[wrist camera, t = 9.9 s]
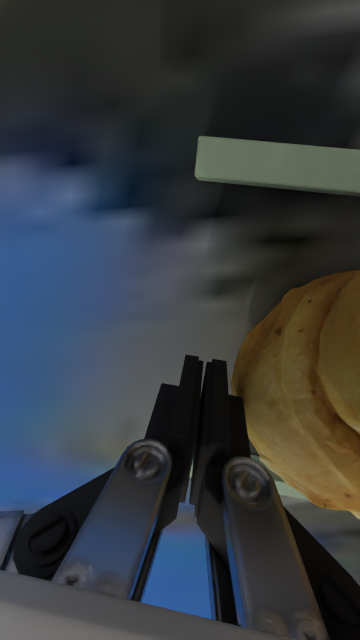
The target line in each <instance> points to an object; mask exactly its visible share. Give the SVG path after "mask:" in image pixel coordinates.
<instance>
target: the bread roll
mask: <svg viewBox="0 0 360 640" xmlns="http://www.w3.org/2000/svg"><path fill="white" fill-rule="evenodd" d="M231 387H232V392H233V396H239V397H242V398H243V402H244V410H245V417H246V425H247V432H248V438H249V439H250V441H251V442H252V444H253V446H254V447H255V449H256V450H257V452H258V453H259V455H260V458H259V460H260V461H262V462H263V463H264V464H265V465H266V466H267V467H268V468H269V469H270V470H271V471H273V472H274V473H275V474H277V475H278V476H279V477H281V478H282V479H283V481H284V482H285V483H286V484H288V485H289V486H291V487H292V488H294V489H296V490H297V491H299V492H300V493H302V494H303V495H304V496H305V497H306V498H308V499H309V500H310V501H311V502H312V503H313V504H315V505H317V506H319V507H321V508H328V509H332V510H348V511H350V512H351V513H352V514H353V515H355V516H356V517H357V518H358V519H359V520H360V270H355V271H343V272H338V273H334V274H331V275H327V276H324V277H321V278H318V279H315V280H313V281H311V282H310V283H308V284H306V285H304V286H302V287H298V288H293V289H291V290H290V291H289V292H287V293H286V294H285V295H284V296H283V299H282V301H281V302H280V303H279V304H277V305H276V306H275V307H274V308H273V309H272V310H271V311H270V312H269V314H268V315H267V316H266V317H265V318H264V319H263V320H262V321H261V322H259V323H258V324H257V325H256V326H255V327H254V329H253V330H251V331H250V332H248V334H247V335H246V337H245V339H244V341H243V343H242V345H241V347H240V350H239V352H238V356H237V359H236V362H235V364H234V371H233V374H232V380H231Z"/></svg>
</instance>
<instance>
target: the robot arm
mask: <svg viewBox="0 0 360 640" xmlns="http://www.w3.org/2000/svg"><path fill="white" fill-rule="evenodd" d="M198 359H199V357H198V356H192V355H186V356H185V360H184V365H183V370H182V375H181V380H180V384H179V386H175V385H169V384H163V383H162V384H161V387H160V390H159V393H158V396H157V399H156V403H155V406H154V409H153V412H152V416H151V419H150V422H149V425H148V428H147V432H146V435H145V438H144V439H141V440H138V441H136V442H134V443H132V444H131V445H129V446H128V447H127V448H126V450H125V451H124V452H123V454H122V456H121V457H120V459H119V461H118V463H117V465H116V466H115V467H114V468H113V469H111V470H109V471H107V472H106V473H104V474H102V475H100V476H98V477H97V478H95V479H93V480H91V481H90V482H88V483H86V484H84V485H82V486H81V487H79V488H77V489H75V490H73V491H72V492H70V493H68V494H66V495H65V496H63V497H61V498H59V499H57V500H56V501H54V502H52V503H50V504H49V505H47V506H45V507H43V508H42V509H40V510H39V511H37V512H36V513H33V514H24V511H23V510H20V511H3V512H0V640H360V586H359V585H358V584H357V582H356V581H355V580H354V579H353V578H352V576H351V575H350V574H349V573H348V572H347V571H346V570H345V569H344V568H343V567H342V566H341V565H340V564H339V563H338V562H337V561H336V560H335V559H334V558H333V557H332V556H331V555H330V554H329V553H328V552H327V551H326V549H325V548H324V547H323V546H322V545H321V544H320V543H319V542H318V541H317V540H316V539H315V538H314V537H313V536H312V535H311V534H310V533H309V532H308V531H307V530H306V529H305V528H304V527H303V526H302V525H301V524H300V523H299V522H298V521H297V520H296V519H295V518H294V517H293V516H292V515H291V514H290V513H289V512H288V511H287V510H286V508H285V507H284V506H283V504H282V502H281V499H280V496H279V493H278V490H277V487H276V484H275V482H274V480H273V478H272V476H271V474H270V473H269V472H268V470H267V469H266V468H265V467H264V466H263V465H261V464H260V463H259V462H257V461H255V460H253V459H251V454H250V447H249V439H248V432H247V425H246V417H245V410H244V402H243V398H242V397H239V396H233V395H228V379H227V363H226V361H222V360H216V359H213V360H212V362H207V364H206V370H205V375H204V381H203V387H202V392H201V383H202V372H203V361H200V360H198ZM200 395H201V398H200ZM193 456H194V457H193ZM192 461H193V468H192V479H191V490H190V501H189V504H192V505H195V516H194V517H197V524H198V526H199V527H200V529H201V530H202V531H203V533H204V534H205V548H206V560H207V571H208V583H209V594H210V606H211V618H212V620H211V619H207V618H203V617H199V616H195V615H190V614H186V613H182V612H178V611H174V610H170V609H165V608H161V607H157V606H153V605H149V604H145V603H142V599H143V596H144V593H145V589H146V586H147V583H148V579H149V576H150V573H151V569H152V566H153V563H154V559H155V556H156V553H157V549H158V546H159V543H160V539H161V536H162V532H163V529H164V528H165V527H166V526H167V525H169V524H170V523H171V522H172V521H174V520H175V519H176V517H177V511H178V505H179V502H183V503H185V498H186V493H187V488H188V482H189V477H190V472H191V467H192Z"/></svg>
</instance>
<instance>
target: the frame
mask: <svg viewBox="0 0 360 640" xmlns="http://www.w3.org/2000/svg"><path fill="white" fill-rule="evenodd" d="M195 177H196V178H197V179H198V180H202V181H212V182H222V183H231V184H241V185H251V186H261V187H271V188H280V189H290V190H300V191H310V192H319V193H329V194H339V195H349V196H358V197H360V150H356V149H344V148H333V147H322V146H311V145H299V144H288V143H277V142H266V141H254V140H243V139H232V138H220V137H209V136H199V138H198V147H197V156H196V165H195ZM193 457H194V456H193ZM259 458H260V456H257V455H251V459H253V460H255V461H257V462H259V463H260V464H261V465H263V466H264V467H265V468H266V469H267V470H268V472H269V473H270V474H271V476H272V478H273V480H274V482H275V484H276V487H277V490H278V493H279V495H285V496H290V497H295V498H300V499H305V500H309V499H308V498H306V497H305V496H304V495H303V494H302V493H300V492H299V491H297V490H296V489H294V488H292V487H291V486H289V485H288V484H286V483H285V482H284V481H283V479H282V478H281V477H279V476H278V475H277V474H275V473H274V472H273V471H271V470H270V469H269V468H268V467H267V466H266V465H265V464H264V463H263V462H262V461H260V460H259ZM192 468H193V461H192V467H191V472H190V477H192Z"/></svg>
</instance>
